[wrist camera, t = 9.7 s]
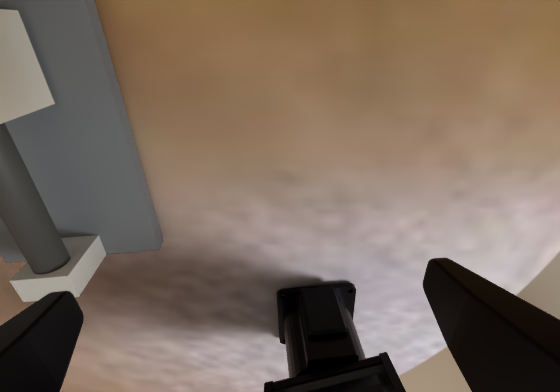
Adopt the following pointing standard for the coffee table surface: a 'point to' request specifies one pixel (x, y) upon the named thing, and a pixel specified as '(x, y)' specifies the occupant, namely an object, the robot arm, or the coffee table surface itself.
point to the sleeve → (19, 71)
